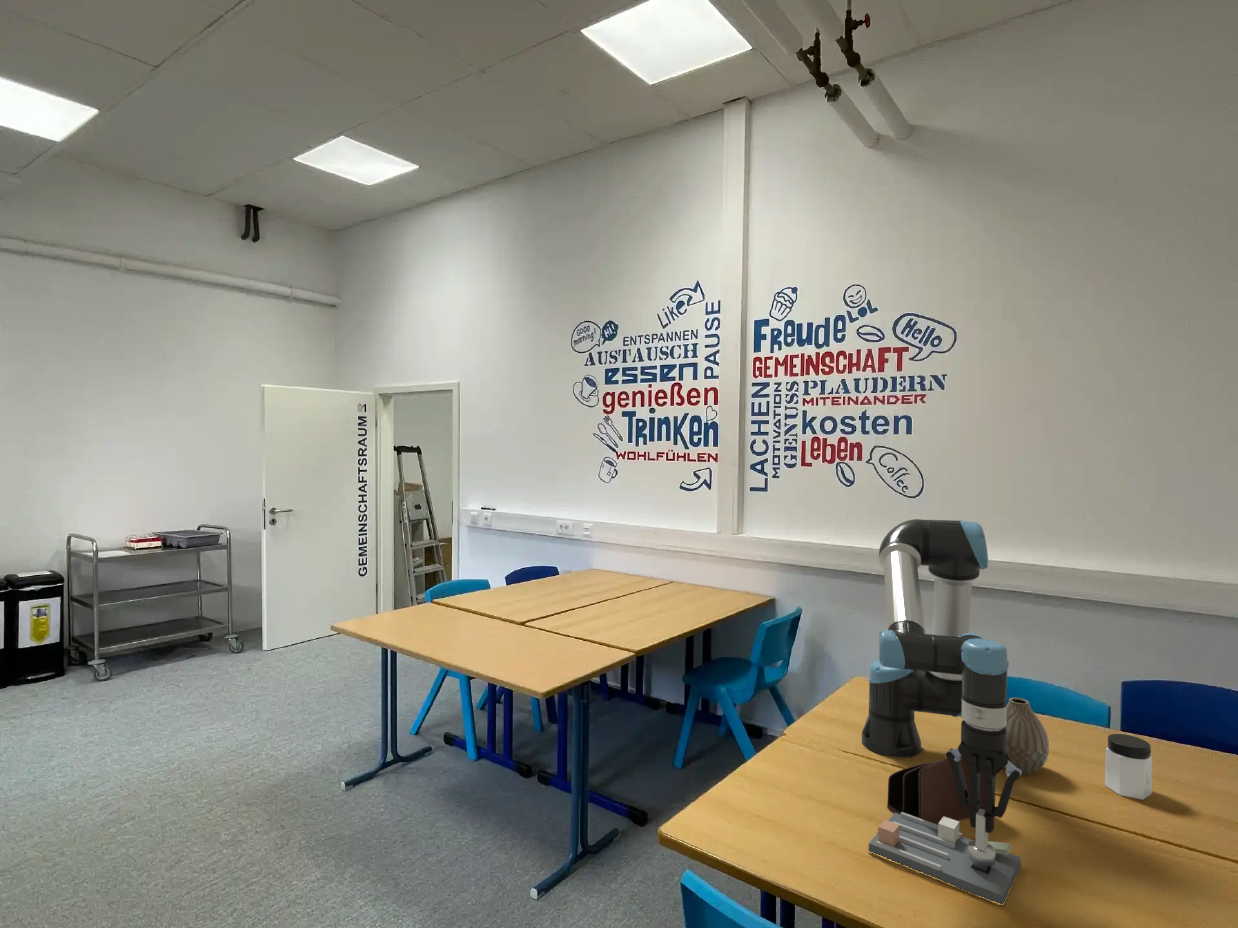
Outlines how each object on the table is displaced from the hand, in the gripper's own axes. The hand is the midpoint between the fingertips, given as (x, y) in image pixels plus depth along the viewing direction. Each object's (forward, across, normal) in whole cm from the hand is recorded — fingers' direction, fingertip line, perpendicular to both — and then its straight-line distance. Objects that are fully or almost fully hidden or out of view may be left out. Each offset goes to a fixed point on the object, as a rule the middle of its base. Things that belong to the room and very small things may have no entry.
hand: (981, 846), depth 127 cm
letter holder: (+6, -13, +20) cm, 25 cm away
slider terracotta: (+4, -16, -4) cm, 17 cm away
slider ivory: (+4, -7, +6) cm, 10 cm away
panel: (+6, -7, +1) cm, 9 cm away
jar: (+6, +18, +59) cm, 62 cm away
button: (+5, 0, 0) cm, 5 cm away
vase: (+6, -4, +54) cm, 55 cm away
